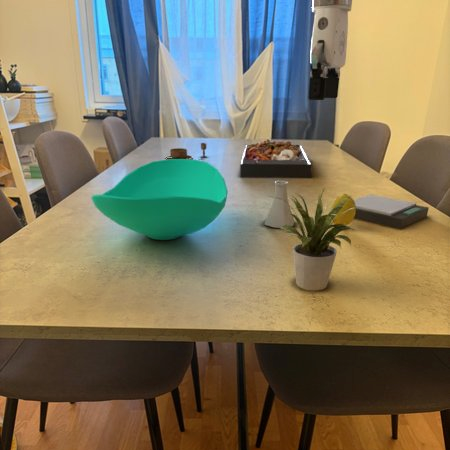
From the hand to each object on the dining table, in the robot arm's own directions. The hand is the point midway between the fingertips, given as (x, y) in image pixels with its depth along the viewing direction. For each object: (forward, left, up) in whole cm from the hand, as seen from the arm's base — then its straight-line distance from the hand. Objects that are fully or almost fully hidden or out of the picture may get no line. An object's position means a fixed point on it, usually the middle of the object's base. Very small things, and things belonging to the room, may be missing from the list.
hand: (323, 98), depth 92 cm
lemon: (-7, -1, -28) cm, 28 cm away
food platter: (+56, -50, -28) cm, 80 cm away
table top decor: (+18, +31, -28) cm, 45 cm away
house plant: (-20, +30, -28) cm, 45 cm away
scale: (-8, -17, -27) cm, 33 cm away
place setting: (+89, -33, -28) cm, 99 cm away
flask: (+5, +7, -28) cm, 29 cm away
